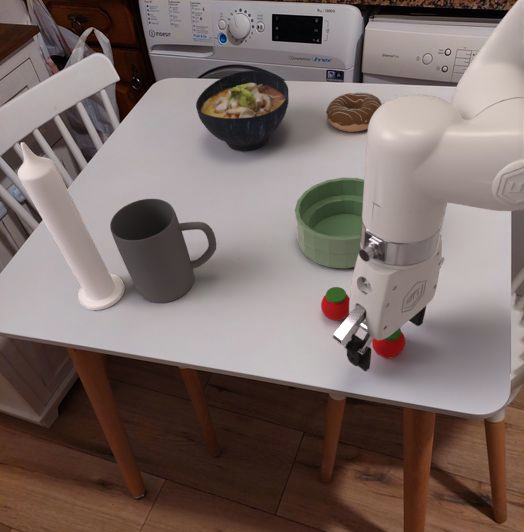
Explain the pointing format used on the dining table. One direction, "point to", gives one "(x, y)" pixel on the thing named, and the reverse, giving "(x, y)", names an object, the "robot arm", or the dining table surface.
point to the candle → (69, 231)
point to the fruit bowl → (331, 222)
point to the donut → (352, 111)
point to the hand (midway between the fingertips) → (385, 340)
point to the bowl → (244, 108)
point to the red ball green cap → (390, 345)
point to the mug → (157, 248)
